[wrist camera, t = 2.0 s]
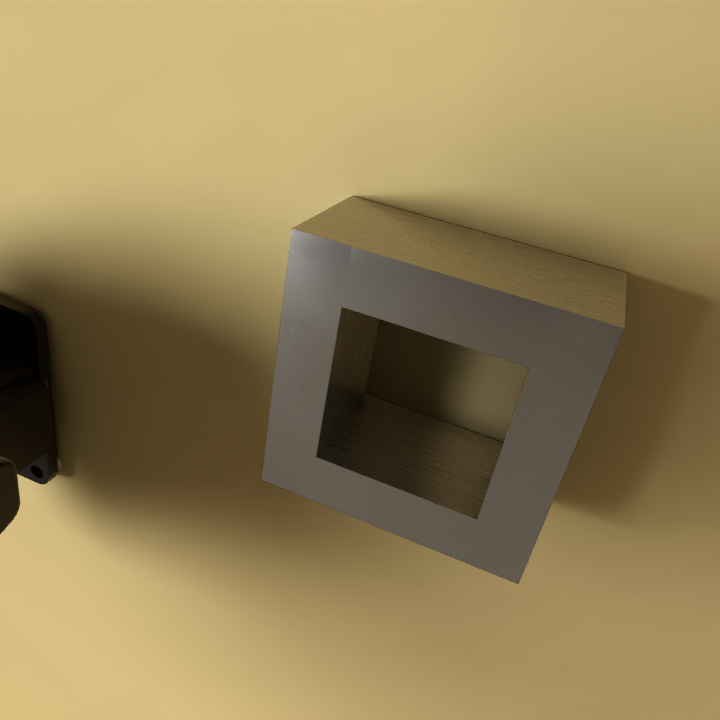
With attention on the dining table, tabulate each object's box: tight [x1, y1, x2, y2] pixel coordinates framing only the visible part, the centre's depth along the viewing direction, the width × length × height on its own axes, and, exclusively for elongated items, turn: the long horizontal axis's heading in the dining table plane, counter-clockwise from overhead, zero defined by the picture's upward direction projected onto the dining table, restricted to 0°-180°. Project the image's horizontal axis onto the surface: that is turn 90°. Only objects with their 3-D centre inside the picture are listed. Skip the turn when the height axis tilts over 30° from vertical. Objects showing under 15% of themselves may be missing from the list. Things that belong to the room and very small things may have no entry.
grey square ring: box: [261, 196, 627, 584], centre depth 14 cm, size 6×6×3 cm
